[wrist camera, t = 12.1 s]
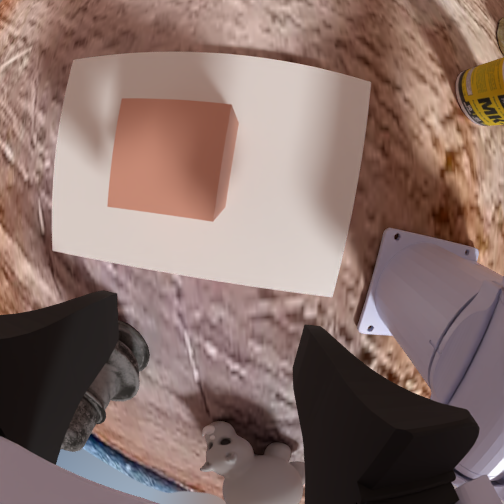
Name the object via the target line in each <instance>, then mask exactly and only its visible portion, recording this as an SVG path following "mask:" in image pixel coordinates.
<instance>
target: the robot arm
mask: <svg viewBox="0 0 504 504" xmlns="http://www.w3.org/2000/svg"><path fill="white" fill-rule="evenodd" d="M397 233H398V238H397V239H396V240H395V239H394V236H395V234H397ZM466 250H467V252H466V254H465V251H466ZM478 255H479V251H478V249H476V248H474V247H471V246H467V245H463V244H459V243H455V242H451V241H447V240H443V239H438V238H434V237H430V236H426V235H421V234H417V233H413V232H408V231H404V230H399V229H395V228H387V229H386V230H385V231H384V233H383V237H382V241H381V245H380V249H379V253H378V257H377V261H376V265H375V268H374V272H373V276H372V279H371V283H370V286H369V290H368V293H367V297H366V300H365V303H364V307H363V310H362V313H361V316H360V319H359V322H358V325H357V329H358V331H359V332H360V333H362V334H375V335H391V336H394V338H395V339H396V340H397V342H398V343H399V345H400V346H401V347H402V349H403V350H404V352H405V353H406V354H407V356H408V357H409V358H410V360H411V361H412V363H413V364H414V366H415V367H416V368H417V370H418V371H419V373H420V374H421V376H422V377H423V378H424V380H425V381H426V383H427V384H428V386H429V387H430V389H431V392H432V393H431V398H430V399H428V398H425V397H422V396H420V395H417V394H415V393H413V392H410V391H408V390H406V389H404V388H402V387H400V386H398V385H396V384H394V383H393V382H391V381H389V380H387V379H386V378H384V377H383V376H381V375H379V374H378V373H376V372H375V371H373V370H372V369H371V368H369V367H368V366H366V365H365V364H364V363H363V362H361V361H360V360H359V359H357V358H356V357H355V356H354V355H353V354H351V353H350V352H349V351H348V350H347V349H346V348H345V347H343V346H342V345H341V344H340V343H339V342H338V341H337V340H336V339H335V338H334V337H332V336H331V335H330V334H329V333H328V332H327V331H326V330H325V329H323V328H322V327H321V326H313V325H304V329H303V333H302V336H301V340H300V344H299V347H298V351H297V355H296V358H295V362H294V365H293V387H294V394H295V400H296V405H297V410H298V415H299V420H300V425H301V431H302V436H303V444H304V461H305V504H502V502H501V500H503V501H504V277H503V276H501V275H500V274H498V273H496V272H494V271H492V270H491V269H489V268H487V267H485V266H483V265H481V264H479V263H477V259H478ZM369 326H372V327H371V328H370V329H367V328H368V327H369ZM118 340H119V327H118V309H117V294H116V293H112V292H108V291H99V292H95V293H91V294H88V295H84V296H81V297H78V298H75V299H72V300H69V301H66V302H63V303H60V304H56V305H53V306H49V307H46V308H42V309H38V310H34V311H29V312H23V313H17V314H8V315H0V504H158V503H155V502H152V501H149V500H147V499H144V498H141V497H137V496H134V495H130V494H127V493H124V492H121V491H118V490H115V489H112V488H109V487H106V486H104V485H101V484H98V483H96V482H93V481H90V480H88V479H85V478H83V477H80V476H78V475H76V474H74V473H72V472H69V471H67V470H65V469H63V468H61V467H59V466H57V465H56V462H57V458H58V455H59V452H60V449H61V446H62V443H63V440H64V437H65V435H66V432H67V430H68V427H69V425H70V422H71V420H72V418H73V416H74V414H75V411H76V409H77V407H78V405H79V403H80V401H81V400H82V398H83V396H84V394H85V393H86V391H87V390H88V388H89V387H90V385H91V384H92V383H93V381H94V380H95V378H96V377H97V375H98V374H99V372H100V371H101V370H102V368H103V367H104V365H105V364H106V362H107V361H108V359H109V358H110V356H111V354H112V352H113V350H114V348H115V346H116V344H117V342H118ZM452 484H453V485H455V486H457V488H456V489H454V487H453V485H452ZM500 499H501V500H500Z"/></svg>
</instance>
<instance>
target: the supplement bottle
mask: <svg viewBox="0 0 504 504" xmlns="http://www.w3.org/2000/svg"><path fill="white" fill-rule="evenodd" d="M456 95H457V99H458V102H459V105H460V107H461V109H462V110H463V112H464V113H465V115H466V116H467V117H468V118H469V119H470V120H471V121H472V122H474V123H475V124H478V125H481V126H490V125H504V57H503V58H500V59H497V60H494V61H491V62H488V63H485V64H482V65H479V66H476V67H473V68H471V69H468V70H465V71H463V72H461V73H460V74H459V76H458V77H457V80H456Z"/></svg>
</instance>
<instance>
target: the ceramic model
mask: <svg viewBox="0 0 504 504" xmlns="http://www.w3.org/2000/svg"><path fill="white" fill-rule="evenodd" d="M497 38H498V43H499V46H500V49H501V51H502V53H503V54H504V18H502V19H501V20H500V21H499V28H498V32H497Z"/></svg>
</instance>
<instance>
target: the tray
mask: <svg viewBox="0 0 504 504" xmlns="http://www.w3.org/2000/svg"><path fill="white" fill-rule="evenodd" d="M370 90H371V82H369V81H366V80H363V79H359V78H356V77H353V76H349V75H345V74H342V73H338V72H334V71H330V70H326V69H321V68H317V67H312V66H308V65H303V64H298V63H292V62H287V61H281V60H275V59H268V58H261V57H253V56H245V55H235V54H223V53H208V52H139V53H124V54H113V55H104V56H95V57H88V58H81V59H75V60H73V63H72V67H71V71H70V75H69V79H68V83H67V87H66V92H65V97H64V102H63V107H62V112H61V118H60V124H59V131H58V138H57V146H56V155H55V165H54V177H53V195H52V250H53V251H56V252H61V253H66V254H71V255H76V256H81V257H85V258H91V259H96V260H101V261H106V262H111V263H116V264H122V265H127V266H132V267H138V268H143V269H149V270H154V271H160V272H166V273H172V274H177V275H183V276H189V277H195V278H201V279H208V280H214V281H220V282H227V283H233V284H240V285H246V286H253V287H260V288H267V289H274V290H281V291H288V292H295V293H303V294H310V295H318V296H326V297H333V293H334V289H335V285H336V281H337V277H338V273H339V269H340V265H341V261H342V257H343V252H344V248H345V244H346V239H347V235H348V230H349V225H350V220H351V216H352V211H353V206H354V200H355V195H356V190H357V184H358V178H359V172H360V166H361V160H362V154H363V147H364V140H365V133H366V125H367V117H368V109H369V100H370ZM122 98H146V99H174V100H191V101H203V102H214V103H223V104H232V107H233V109H234V112H235V114H236V117H237V120H238V122H239V125H238V131H237V137H236V143H235V149H234V155H233V161H232V167H231V174H230V180H229V187H228V193H227V200H226V206H225V208H224V209H223V211H222V212H221V213H220V214H219V215H218V216H217V218H216V219H215V220H214V221H213V222H212V221H205V220H198V219H192V218H185V217H178V216H171V215H164V214H157V213H150V212H143V211H135V210H128V209H121V208H113V207H107V205H108V192H109V181H110V171H111V162H112V154H113V147H114V140H115V134H116V127H117V121H118V116H119V110H120V105H121V100H122Z"/></svg>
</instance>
